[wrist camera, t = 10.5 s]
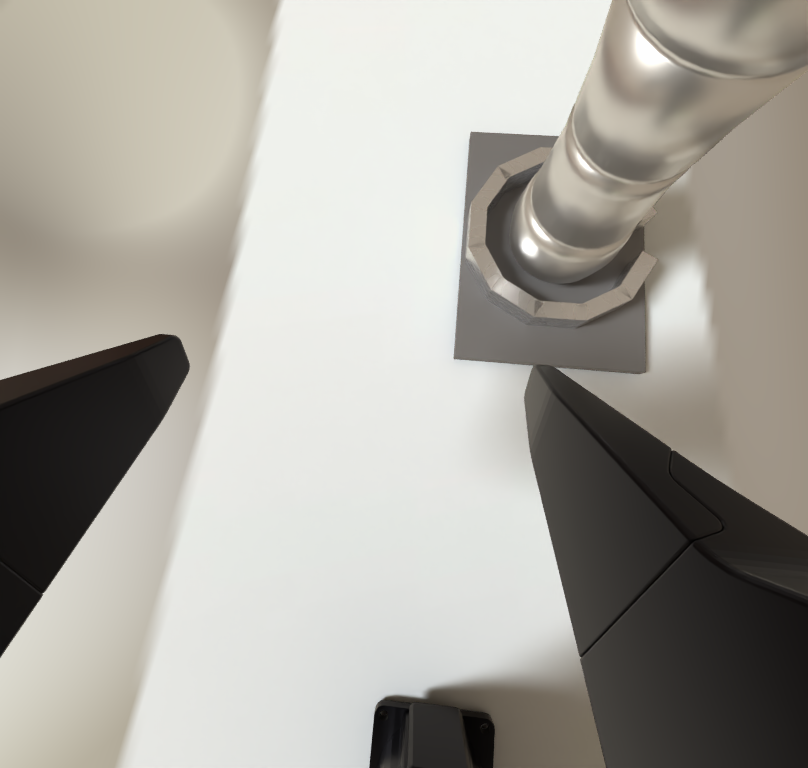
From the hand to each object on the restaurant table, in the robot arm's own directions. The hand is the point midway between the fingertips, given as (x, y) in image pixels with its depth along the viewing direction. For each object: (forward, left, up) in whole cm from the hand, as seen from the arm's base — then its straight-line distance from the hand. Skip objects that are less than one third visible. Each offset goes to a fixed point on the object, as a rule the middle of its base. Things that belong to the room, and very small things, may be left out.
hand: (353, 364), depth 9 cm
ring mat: (+12, -10, -14) cm, 20 cm away
